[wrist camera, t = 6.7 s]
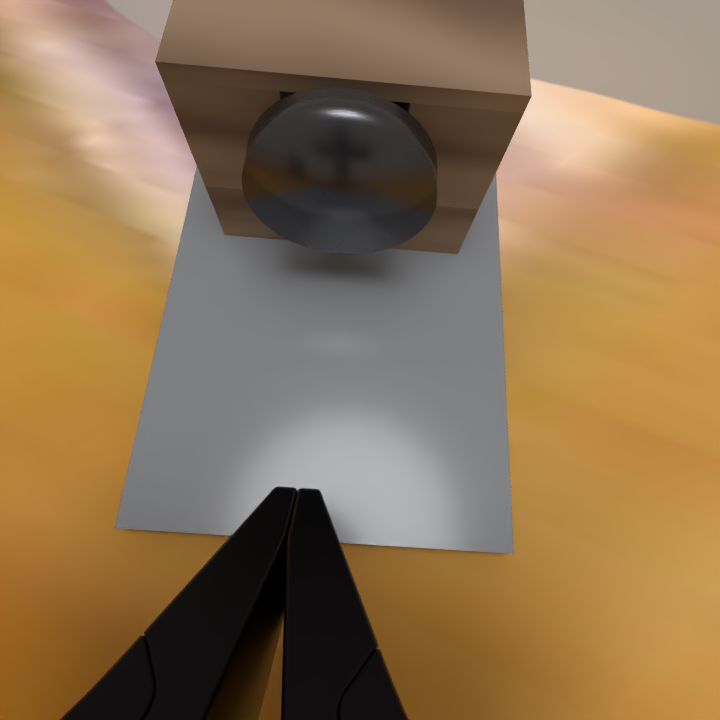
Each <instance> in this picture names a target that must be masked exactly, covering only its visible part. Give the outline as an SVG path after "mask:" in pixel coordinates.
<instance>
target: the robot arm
mask: <svg viewBox="0 0 720 720" xmlns="http://www.w3.org/2000/svg"><path fill="white" fill-rule="evenodd" d="M283 619H284V634H283V670H282V706H281V720H409V719H408V717H407V715H406V712H405V710H404V708H403V706H402V703H401V701H400V698H399V696H398V693H397V691H396V689H395V686H394V684H393V681H392V679H391V676H390V674H389V671H388V669H387V666H386V663H385V661H384V658H383V655H382V653H381V650H380V649H378V643H377V640H376V637H375V635H374V632H373V629H372V627H371V624H370V621H369V619H368V616H367V613H366V611H365V608H364V605H363V603H362V600H361V597H360V595H359V592H358V589H357V587H356V584H355V581H354V579H353V576H352V573H351V571H350V568H349V565H348V563H347V560H346V557H345V555H344V552H343V549H342V547H341V544H340V541H339V539H338V536H337V533H336V531H335V528H334V525H333V523H332V520H331V517H330V515H329V512H328V509H327V507H326V504H325V501H324V499H323V496H322V493H321V491H320V490H319V489H311V488H300V489H299V490H298V491H297V489H296V488H294V487H281V486H278V487H275V488H274V489H273V490H272V491H271V492H270V493H269V494H268V495H267V497H266V498H265V499H264V500H263V501H262V502H261V503H260V504H259V505H258V507H257V508H256V509H255V510H254V511H253V512H252V513H251V514H250V515H249V517H248V518H247V519H246V520H245V521H244V522H243V523H242V524H241V525H240V526H239V528H238V529H237V530H236V531H235V532H234V533H233V534H232V535H231V536H230V538H229V539H228V540H227V541H226V542H225V543H224V544H223V545H222V546H221V548H220V549H219V550H218V551H217V552H216V553H215V554H214V555H213V556H212V557H211V559H210V560H209V561H208V562H207V563H206V564H205V565H204V566H203V567H202V569H201V570H200V571H199V572H198V573H197V574H196V575H195V576H194V577H193V578H192V580H191V581H190V582H189V583H188V584H187V585H186V586H185V587H184V588H183V590H182V591H181V592H180V593H179V594H178V595H177V596H176V597H175V598H174V600H173V601H172V602H171V603H170V604H169V605H168V606H167V607H166V608H165V609H164V611H163V612H162V613H161V614H160V615H159V616H158V617H157V618H156V619H155V621H154V622H153V623H152V624H151V625H150V626H149V627H148V628H147V629H146V631H145V633H144V634H145V636H140V637H139V638H138V639H137V640H136V641H135V642H134V643H133V645H132V646H131V647H130V648H129V649H128V650H127V651H126V652H125V653H124V655H123V656H122V657H121V658H120V659H119V660H118V661H117V662H116V663H115V664H114V665H113V666H112V667H111V668H110V670H109V671H108V672H107V673H106V674H105V675H104V676H103V677H102V678H101V679H100V680H99V681H98V682H97V683H96V684H95V685H94V686H93V688H92V689H91V690H90V691H89V692H88V693H87V694H86V695H85V696H84V697H83V698H82V699H81V700H80V701H78V702H77V703H76V704H75V705H74V706H73V707H72V708H71V709H70V710H69V711H68V712H67V713H66V714H65V715H64V716H63V717H62V718H61V719H60V720H258V718H259V714H260V710H261V706H262V702H263V698H264V694H265V690H266V687H267V683H268V679H269V675H270V671H271V667H272V663H273V659H274V655H275V651H276V647H277V643H278V639H279V635H280V631H281V627H282V623H283Z"/></svg>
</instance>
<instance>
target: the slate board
mask: <svg viewBox="0 0 720 720" xmlns="http://www.w3.org/2000/svg"><path fill="white" fill-rule="evenodd" d="M278 486H281V487H294V488H296V489H297V491H298V490H299V489H300V488H311V489H319V490H320V491H321V493H322V496H323V499H324V501H325V504H326V507H327V509H328V512H329V515H330V517H331V520H332V523H333V525H334V528H335V531H336V533H337V536H338V539H339V541H340V543H353V544H368V545H384V546H400V547H415V548H431V549H446V550H462V551H477V552H493V553H508V554H514V550H513V529H512V507H511V486H510V464H509V443H508V421H507V400H506V378H505V357H504V335H503V314H502V292H501V271H500V249H499V228H498V206H497V185H496V173H495V175H494V178H493V180H492V182H491V184H490V186H489V188H488V190H487V193H486V195H485V197H484V199H483V201H482V203H481V205H480V208H479V210H478V212H477V214H476V216H475V218H474V220H473V223H472V225H471V227H470V229H469V231H468V233H467V235H466V238H465V240H464V242H463V244H462V246H461V248H460V251H459V253H458V254H450V253H437V252H425V251H413V250H401V249H386V250H382V251H378V252H373V253H365V254H336V253H328V252H323V251H318V250H314V249H310V248H307V247H304V246H301V245H298V244H296V243H294V242H292V241H289V240H279V239H266V238H254V237H242V236H230V235H225V234H224V232H223V229H222V227H221V224H220V222H219V219H218V217H217V214H216V212H215V209H214V207H213V204H212V202H211V199H210V197H209V194H208V192H207V189H206V187H205V185H204V182H203V180H202V177H201V175H200V172H199V170H198V167H197V168H196V173H195V177H194V181H193V186H192V190H191V195H190V199H189V203H188V208H187V212H186V217H185V221H184V225H183V230H182V234H181V239H180V243H179V247H178V252H177V256H176V261H175V265H174V269H173V274H172V278H171V283H170V287H169V291H168V296H167V300H166V305H165V309H164V313H163V318H162V322H161V327H160V331H159V335H158V340H157V344H156V349H155V353H154V357H153V362H152V366H151V371H150V375H149V379H148V384H147V388H146V393H145V397H144V401H143V406H142V410H141V415H140V419H139V423H138V428H137V432H136V437H135V441H134V446H133V450H132V454H131V459H130V463H129V468H128V472H127V476H126V481H125V485H124V490H123V494H122V498H121V503H120V507H119V512H118V516H117V520H116V525H115V528H120V529H136V530H151V531H167V532H182V533H198V534H213V535H229V536H231V535H232V534H233V533H234V532H235V531H236V530H237V529H238V528H239V526H240V525H241V524H242V523H243V522H244V521H245V520H246V519H247V518H248V517H249V515H250V514H251V513H252V512H253V511H254V510H255V509H256V508H257V507H258V505H259V504H260V503H261V502H262V501H263V500H264V499H265V498H266V497H267V495H268V494H269V493H270V492H271V491H272V490H273V489H274V488H275V487H278Z"/></svg>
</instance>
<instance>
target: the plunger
mask: <svg viewBox="0 0 720 720" xmlns="http://www.w3.org/2000/svg"><path fill="white" fill-rule="evenodd" d="M242 188H243V193H244V196H245V198H246V201H247V203H248V205H249V206H250V208H251V210H252V211H253V212H254V214H255V215H256V216H257V217H258V218H259V219H260V220H261V221H262V222H263V223H264V224H265V225H266V226H267V227H269V228H270V229H271V230H272V231H274V232H275V233H277V234H278V235H280V236H282V237H284V238H286V239H287V240H289V241H292V242H294V243H296V244H298V245H301V246H304V247H307V248H310V249H314V250H318V251H323V252H328V253H336V254H365V253H373V252H378V251H382V250H386V249H390V248H392V247H395V246H398V245H400V244H402V243H404V242H406V241H408V240H409V239H411V238H412V237H414V236H415V235H417V234H418V233H419V232H420V231H421V230H422V229H423V228H424V227H425V226H426V225H427V224H428V222H429V221H430V219H431V217H432V215H433V213H434V211H435V208H436V203H437V156H436V151H435V148H434V145H433V142H432V141H431V139H430V137H429V135H428V133H427V132H426V130H425V129H424V128H423V127H422V125H421V124H420V123H419V122H418V121H417V120H416V119H415V118H414V117H413V116H412V115H411V114H410V113H408V112H407V111H405V110H404V109H403V108H401V107H400V106H398V105H396V104H395V103H393V102H391V101H389V100H387V99H385V98H382V97H380V96H377V95H375V94H372V93H368V92H365V91H361V90H356V89H349V88H336V87H326V88H315V89H310V90H305V91H301V92H298V93H295V94H292V95H289V96H287V97H285V98H283V99H281V100H279V101H277V102H276V103H274V104H273V105H272V106H270V107H269V108H268V109H266V110H265V112H264V113H263V114H262V115H261V116H260V117H259V118H258V119H257V121H256V123H255V124H254V126H253V128H252V130H251V132H250V135H249V139H248V144H247V149H246V154H245V160H244V165H243V171H242Z"/></svg>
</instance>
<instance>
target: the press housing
mask: <svg viewBox="0 0 720 720" xmlns="http://www.w3.org/2000/svg"><path fill="white" fill-rule="evenodd" d="M155 62H156V65H157V67H158V70H159V72H160V75H161V77H162V80H163V82H164V85H165V87H166V90H167V92H168V95H169V97H170V100H171V102H172V105H173V107H174V110H175V112H176V115H177V117H178V120H179V122H180V125H181V127H182V130H183V132H184V135H185V137H186V140H187V142H188V145H189V147H190V150H191V152H192V155H193V157H194V160H195V162H196V165H197V167H198V170H199V172H200V175H201V177H202V180H203V182H204V185H205V187H206V189H207V192H208V194H209V197H210V199H211V202H212V204H213V207H214V209H215V212H216V214H217V217H218V219H219V222H220V224H221V227H222V229H223V232H224V234H225V235H230V236H242V237H254V238H266V239H279V240H287V239H286V238H284V237H282V236H280V235H278V234H277V233H275V232H274V231H272V230H271V229H270V228H269V227H267V226H266V225H265V224H264V223H263V222H262V221H261V220H260V219H259V218H258V217H257V216H256V215H255V214H254V212H253V211H252V210H251V208H250V206H249V205H248V203H247V201H246V198H245V196H244V193H243V188H242V171H243V165H244V160H245V154H246V149H247V144H248V139H249V135H250V132H251V130H252V128H253V126H254V124H255V123H256V121H257V119H258V118H259V117H260V116H261V115H262V114H263V113H264V112H265V110H266V109H268V108H269V107H270V106H272V105H273V104H274V103H276V102H277V101H279V100H281V99H283V98H285V97H287V96H289V95H292V94H295V93H298V92H301V91H305V90H310V89H315V88H326V87H336V88H349V89H356V90H361V91H365V92H368V93H372V94H375V95H377V96H380V97H382V98H385V99H387V100H389V101H391V102H393V103H395V104H396V105H398V106H400V107H401V108H403V109H404V110H405V111H407V112H408V113H410V114H411V115H412V116H413V117H414V118H415V119H416V120H417V121H418V122H419V123H420V124H421V125H422V127H423V128H424V129H425V130H426V132H427V133H428V135H429V137H430V139H431V141H432V142H433V145H434V148H435V151H436V156H437V203H436V208H435V211H434V213H433V215H432V217H431V219H430V221H429V222H428V224H427V225H426V226H425V227H424V228H423V229H422V230H421V231H420V232H419V233H418V234H417V235H415V236H414V237H412V238H411V239H409V240H408V241H406V242H404V243H402V244H400V245H398V246H395V247H392V248H390V249H401V250H413V251H425V252H437V253H450V254H458V253H459V251H460V248H461V246H462V244H463V242H464V240H465V238H466V235H467V233H468V231H469V229H470V227H471V225H472V223H473V220H474V218H475V216H476V214H477V212H478V210H479V208H480V205H481V203H482V201H483V199H484V197H485V195H486V193H487V190H488V188H489V186H490V184H491V182H492V180H493V178H494V175H495V173H496V171H497V169H498V167H499V165H500V162H501V160H502V158H503V156H504V154H505V152H506V150H507V147H508V145H509V143H510V141H511V139H512V137H513V135H514V132H515V130H516V128H517V126H518V124H519V122H520V120H521V117H522V115H523V113H524V111H525V109H526V107H527V104H528V102H529V100H530V98H531V85H530V73H529V61H528V49H527V37H526V26H525V14H524V2H523V0H173V3H172V6H171V10H170V13H169V16H168V20H167V23H166V26H165V30H164V33H163V37H162V40H161V44H160V47H159V50H158V54H157V57H156V61H155Z"/></svg>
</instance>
